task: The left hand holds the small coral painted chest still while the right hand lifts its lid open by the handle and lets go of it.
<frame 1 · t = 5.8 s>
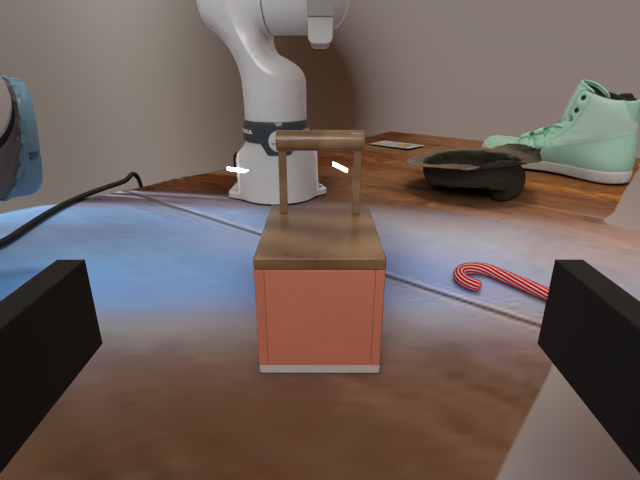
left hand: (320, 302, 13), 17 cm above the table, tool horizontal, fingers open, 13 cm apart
candy cane: (519, 297, 48), on the table
lid: (319, 189, 37), point 14 cm above the table, hinge at 0.0°
sneaker: (546, 170, 106), on the table
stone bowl: (466, 191, 89), on the table
chest: (319, 329, 42), on the table
baking ingredient package: (395, 145, 138), on the table
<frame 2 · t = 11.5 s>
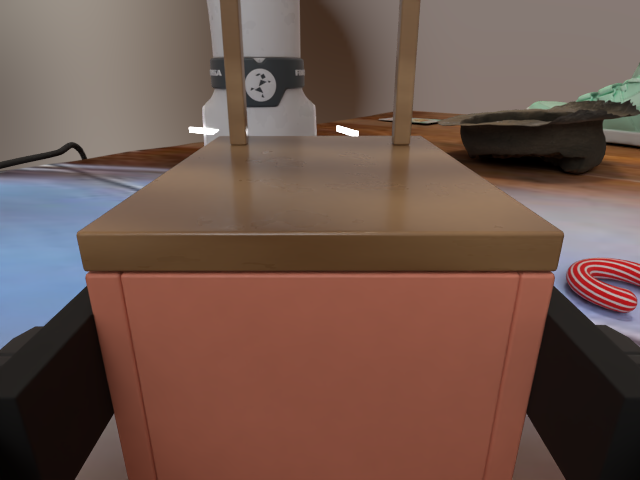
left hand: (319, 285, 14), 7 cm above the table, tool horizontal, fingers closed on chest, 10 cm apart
lid: (320, 53, 14), point 14 cm above the table, hinge at -0.1°
sneaker: (611, 143, 82), on the table
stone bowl: (519, 163, 65), on the table
chest: (320, 410, 18), on the table, touching left hand
baking ingredient package: (411, 121, 114), on the table
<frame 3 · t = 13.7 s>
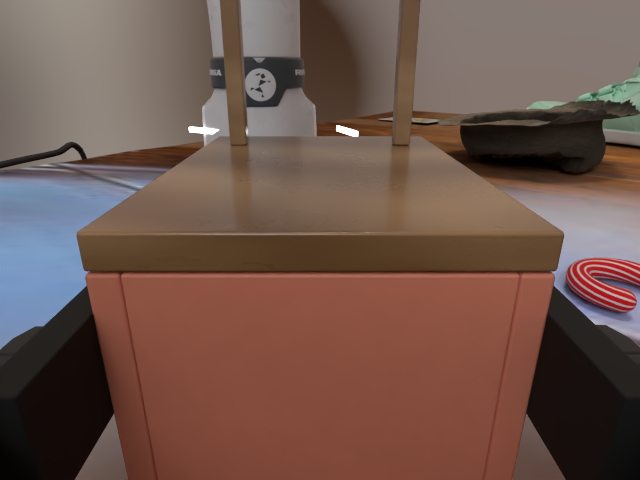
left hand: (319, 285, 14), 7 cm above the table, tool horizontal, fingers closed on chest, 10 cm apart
lid: (320, 54, 14), point 14 cm above the table, hinge at -0.1°, touching right hand
sneaker: (611, 143, 82), on the table
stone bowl: (519, 163, 65), on the table
chest: (320, 410, 18), on the table, touching left hand
baking ingredient package: (410, 121, 115), on the table
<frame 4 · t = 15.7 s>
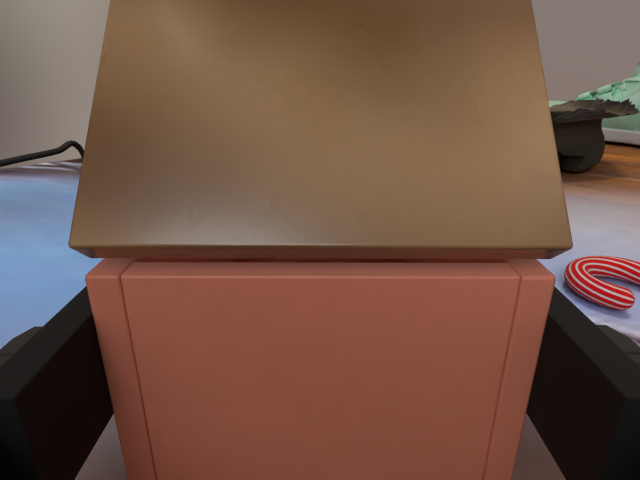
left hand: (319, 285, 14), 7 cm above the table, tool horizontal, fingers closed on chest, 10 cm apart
sneaker: (610, 142, 82), on the table
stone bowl: (518, 162, 65), on the table
chest: (319, 409, 18), on the table, touching left hand
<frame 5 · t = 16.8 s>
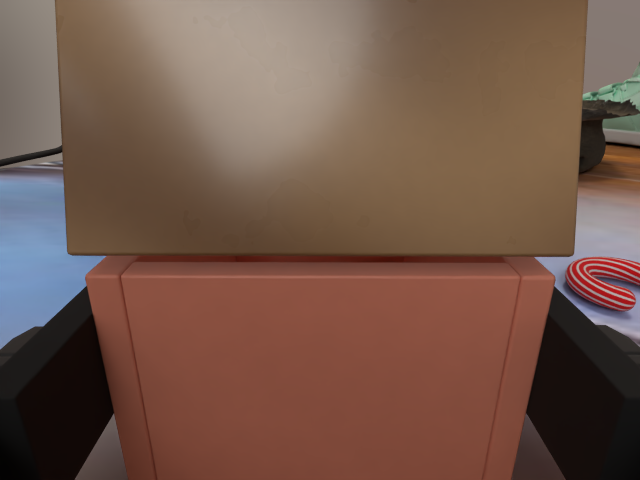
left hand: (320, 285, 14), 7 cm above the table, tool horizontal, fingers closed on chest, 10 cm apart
sneaker: (611, 142, 82), on the table
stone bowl: (519, 162, 65), on the table
chest: (319, 409, 18), on the table, touching left hand
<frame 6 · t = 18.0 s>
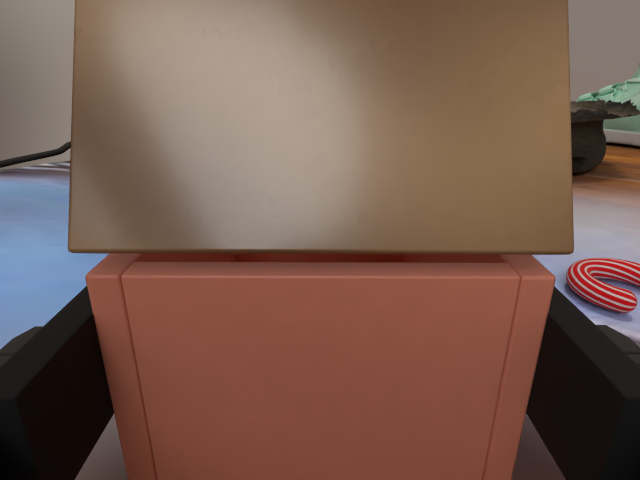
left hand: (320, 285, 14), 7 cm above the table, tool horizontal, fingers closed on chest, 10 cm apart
sneaker: (611, 143, 82), on the table
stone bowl: (520, 163, 65), on the table
chest: (319, 409, 18), on the table, touching left hand
when the left hand's fingers open (7 cm above the table, at t = 20.8 s): chest stays where it is, on the table.
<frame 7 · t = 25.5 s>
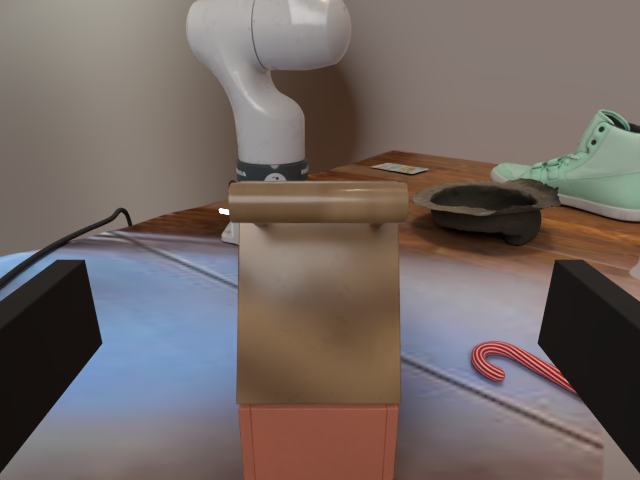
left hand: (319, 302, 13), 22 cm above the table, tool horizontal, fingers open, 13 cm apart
candy cane: (548, 390, 42), on the table
lid: (318, 292, 23), point 17 cm above the table, hinge at 64.2°
sneaker: (560, 202, 100), on the table
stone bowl: (477, 231, 83), on the table
chest: (319, 443, 36), on the table
baking ingredient package: (399, 169, 132), on the table
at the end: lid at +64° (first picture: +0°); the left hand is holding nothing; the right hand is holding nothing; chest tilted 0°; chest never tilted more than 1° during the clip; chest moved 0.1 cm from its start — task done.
